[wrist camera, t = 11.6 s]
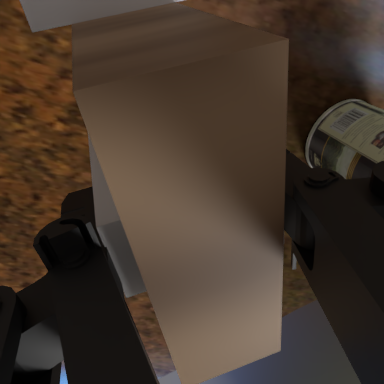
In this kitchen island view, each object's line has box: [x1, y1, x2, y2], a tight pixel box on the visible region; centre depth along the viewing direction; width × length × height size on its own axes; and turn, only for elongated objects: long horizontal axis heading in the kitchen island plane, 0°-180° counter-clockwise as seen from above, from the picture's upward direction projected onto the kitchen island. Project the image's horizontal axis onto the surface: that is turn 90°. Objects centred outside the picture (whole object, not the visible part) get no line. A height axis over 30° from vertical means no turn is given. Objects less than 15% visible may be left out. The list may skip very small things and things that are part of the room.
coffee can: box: [305, 99, 384, 179], centre depth 36 cm, size 10×10×14 cm
